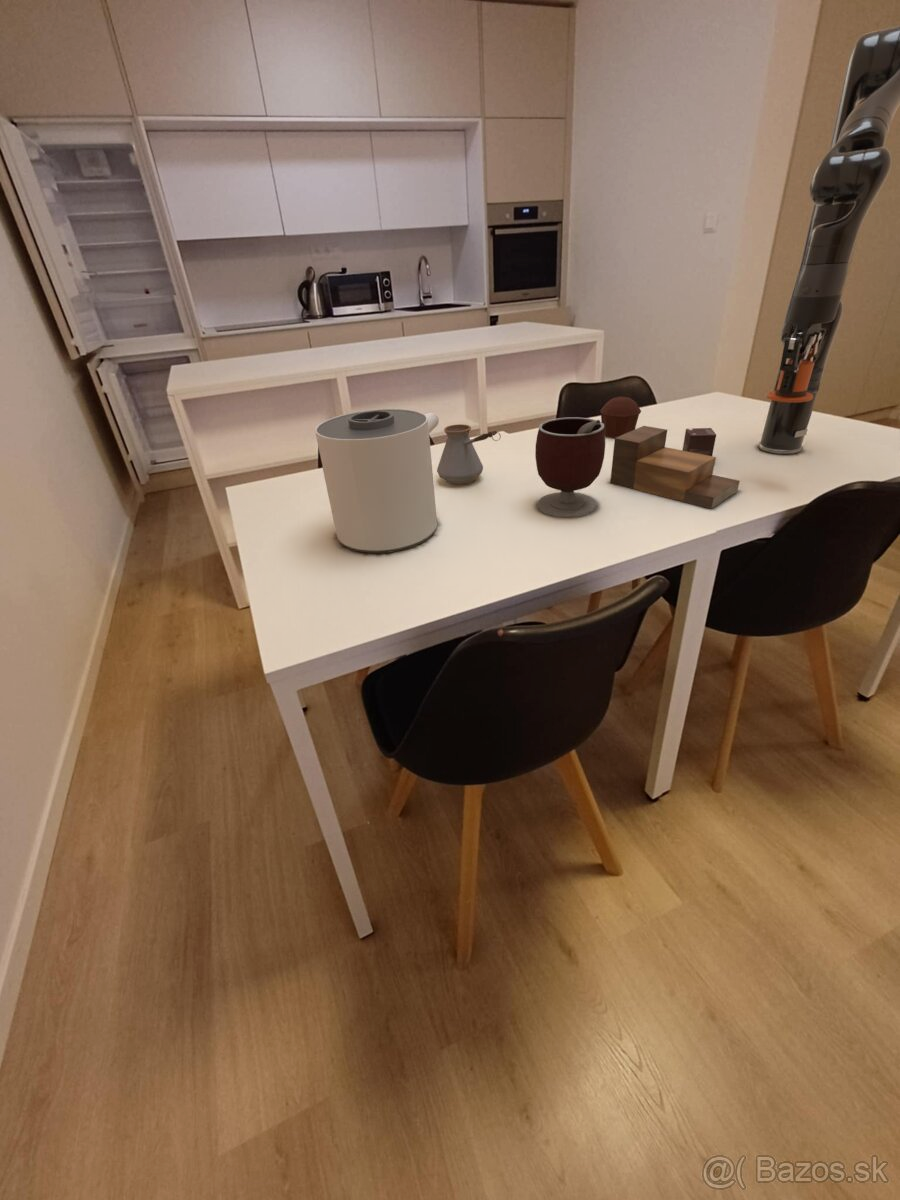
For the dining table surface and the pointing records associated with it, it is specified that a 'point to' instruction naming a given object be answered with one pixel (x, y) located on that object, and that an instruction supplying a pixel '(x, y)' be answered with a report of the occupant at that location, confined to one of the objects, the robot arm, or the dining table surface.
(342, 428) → the humidifier
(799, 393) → the hat
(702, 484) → the stand
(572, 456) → the mate gourd
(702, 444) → the box
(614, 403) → the muffin
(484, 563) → the dining table surface
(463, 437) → the coffee pot
